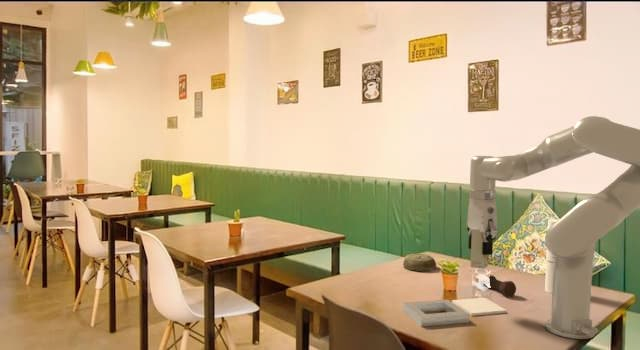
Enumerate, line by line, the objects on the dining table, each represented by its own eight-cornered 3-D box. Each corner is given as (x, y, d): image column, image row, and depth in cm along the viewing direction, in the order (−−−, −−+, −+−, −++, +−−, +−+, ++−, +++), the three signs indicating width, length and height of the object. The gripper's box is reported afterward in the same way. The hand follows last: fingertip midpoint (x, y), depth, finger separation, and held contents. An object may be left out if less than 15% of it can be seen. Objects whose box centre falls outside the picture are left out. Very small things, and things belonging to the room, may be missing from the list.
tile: (506, 312, 149) (506, 310, 149) (471, 315, 146) (471, 313, 146) (484, 299, 160) (484, 297, 160) (451, 302, 158) (451, 300, 158)
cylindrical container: (565, 295, 165) (568, 223, 163) (542, 291, 170) (545, 221, 168) (569, 290, 171) (572, 220, 169) (547, 286, 175) (550, 218, 173)
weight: (417, 274, 191) (417, 261, 191) (396, 266, 203) (396, 254, 202) (443, 269, 198) (443, 257, 197) (420, 262, 209) (421, 250, 209)
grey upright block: (484, 269, 148) (485, 230, 147) (470, 267, 151) (471, 228, 150) (488, 264, 154) (490, 227, 153) (475, 263, 156) (476, 225, 155)
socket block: (468, 322, 141) (469, 313, 141) (421, 326, 137) (421, 318, 137) (447, 307, 153) (447, 299, 153) (403, 310, 150) (403, 302, 150)
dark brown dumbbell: (484, 288, 179) (511, 300, 164) (473, 282, 177) (500, 294, 163) (490, 274, 179) (518, 285, 165) (480, 268, 178) (508, 278, 163)
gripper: (509, 198, 143) (507, 257, 144) (477, 192, 160) (475, 244, 161) (487, 199, 141) (484, 259, 143) (457, 192, 158) (455, 245, 159)
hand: (480, 251), depth 152 cm, fingers closed on grey upright block, 7 cm apart
